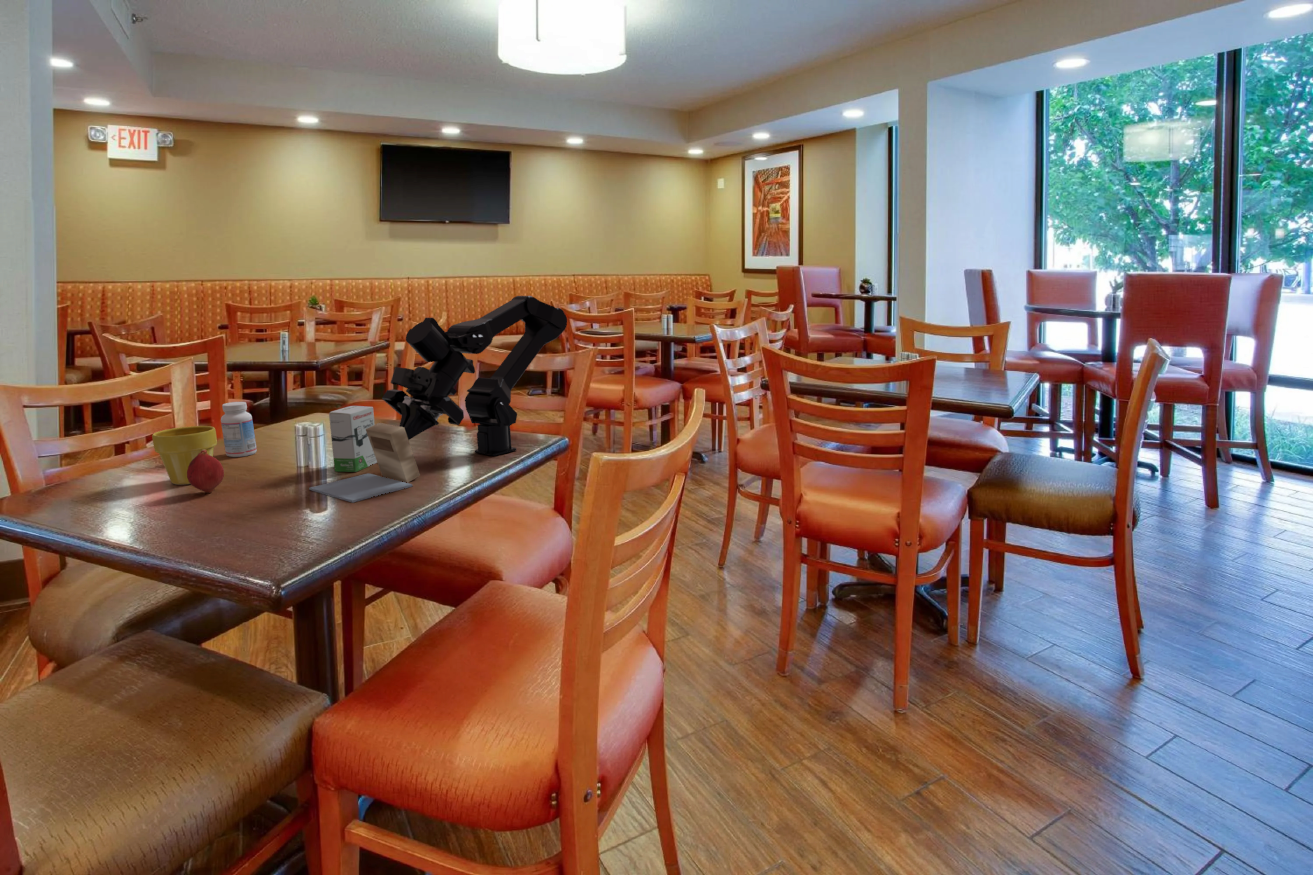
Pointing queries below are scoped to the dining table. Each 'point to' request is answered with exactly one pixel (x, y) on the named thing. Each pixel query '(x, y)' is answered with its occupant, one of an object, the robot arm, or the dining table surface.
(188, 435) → the plant pot
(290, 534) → the dining table surface
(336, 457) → the ink box
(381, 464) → the maple slab
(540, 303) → the robot arm
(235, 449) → the pill bottle
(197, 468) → the onion
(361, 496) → the rubber mat
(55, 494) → the dining table surface
